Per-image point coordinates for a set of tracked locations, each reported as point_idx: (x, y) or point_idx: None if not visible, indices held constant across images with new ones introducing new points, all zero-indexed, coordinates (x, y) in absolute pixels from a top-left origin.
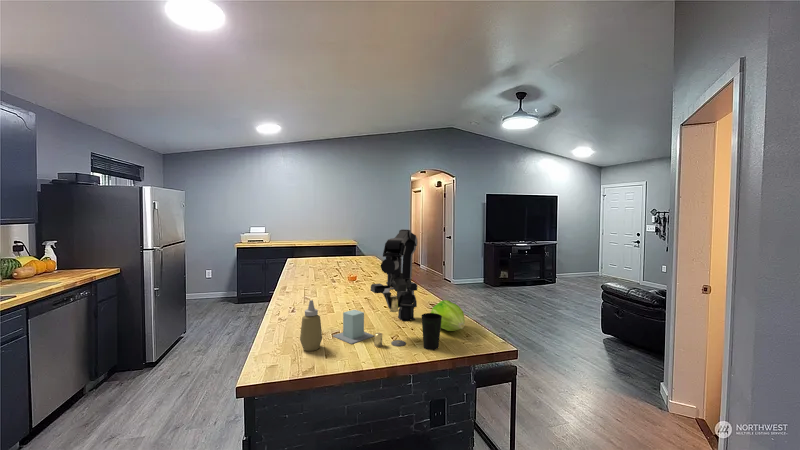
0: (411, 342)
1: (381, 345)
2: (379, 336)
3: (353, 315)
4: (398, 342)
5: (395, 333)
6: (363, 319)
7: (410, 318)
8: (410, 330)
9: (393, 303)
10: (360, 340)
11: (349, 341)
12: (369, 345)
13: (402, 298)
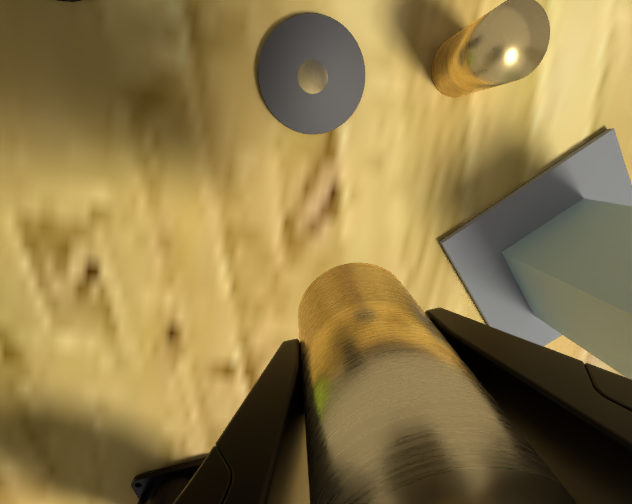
0: (211, 81)
1: (445, 41)
2: (509, 3)
3: None
4: (311, 82)
5: (297, 274)
6: (603, 294)
7: (162, 482)
8: (187, 313)
9: (426, 338)
10: (542, 175)
11: (612, 162)
12: (510, 85)
13: (182, 491)
